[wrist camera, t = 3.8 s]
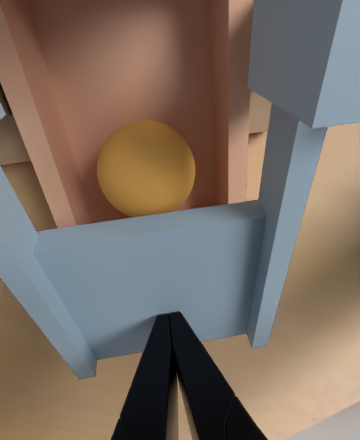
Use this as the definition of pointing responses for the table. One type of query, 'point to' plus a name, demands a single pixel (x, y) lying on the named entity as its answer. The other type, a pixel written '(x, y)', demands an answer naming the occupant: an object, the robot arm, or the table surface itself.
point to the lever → (198, 213)
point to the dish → (127, 90)
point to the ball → (145, 168)
